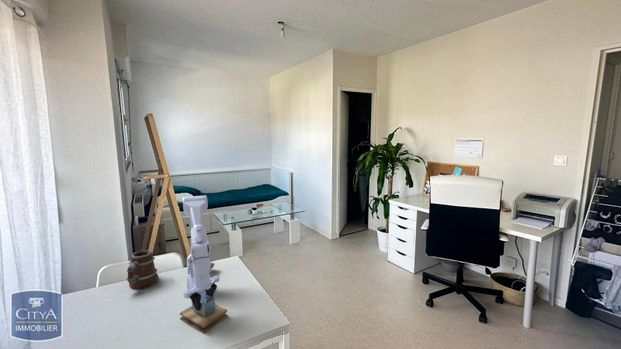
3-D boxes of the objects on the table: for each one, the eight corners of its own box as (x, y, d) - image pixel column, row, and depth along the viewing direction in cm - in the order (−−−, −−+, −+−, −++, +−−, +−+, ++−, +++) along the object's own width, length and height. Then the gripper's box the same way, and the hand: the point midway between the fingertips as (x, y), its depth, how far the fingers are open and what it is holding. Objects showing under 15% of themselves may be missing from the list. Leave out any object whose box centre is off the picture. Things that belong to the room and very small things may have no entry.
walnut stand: (180, 319, 107) (179, 312, 107) (204, 304, 117) (204, 298, 116) (203, 333, 100) (203, 326, 100) (227, 316, 109) (227, 309, 109)
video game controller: (201, 282, 137) (207, 271, 136) (194, 277, 138) (199, 266, 136) (212, 272, 147) (217, 262, 145) (205, 268, 147) (210, 257, 146)
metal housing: (204, 316, 104) (203, 303, 103) (192, 309, 108) (191, 296, 107) (215, 310, 108) (214, 297, 107) (202, 303, 112) (201, 290, 111)
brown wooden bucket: (140, 276, 140) (137, 247, 138) (163, 277, 139) (161, 248, 137) (116, 294, 124) (113, 262, 122) (143, 295, 124) (140, 263, 122)
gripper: (191, 285, 98) (193, 320, 100) (224, 268, 110) (225, 300, 112) (179, 279, 101) (181, 313, 103) (212, 263, 113) (213, 294, 115)
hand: (203, 306), depth 108 cm, fingers closed on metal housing, 5 cm apart
